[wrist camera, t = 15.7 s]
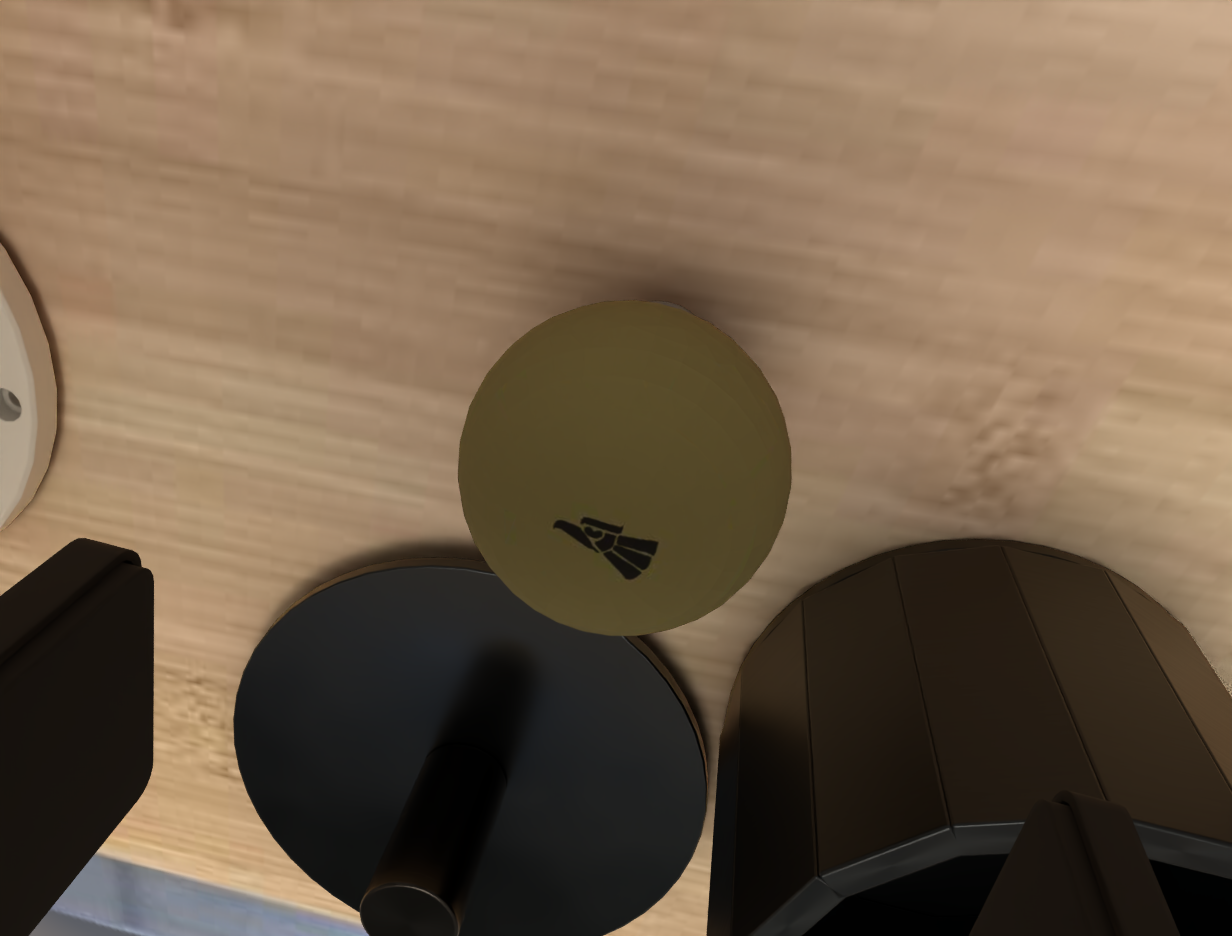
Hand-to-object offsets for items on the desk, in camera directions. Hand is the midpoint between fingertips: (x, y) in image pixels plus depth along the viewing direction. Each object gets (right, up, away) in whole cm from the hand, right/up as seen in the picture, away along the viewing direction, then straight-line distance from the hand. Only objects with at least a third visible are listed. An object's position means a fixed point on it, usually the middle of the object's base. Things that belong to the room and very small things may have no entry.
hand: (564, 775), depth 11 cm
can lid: (-4, -5, +18) cm, 20 cm away
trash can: (+10, -4, +17) cm, 20 cm away
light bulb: (+2, +6, +13) cm, 15 cm away
